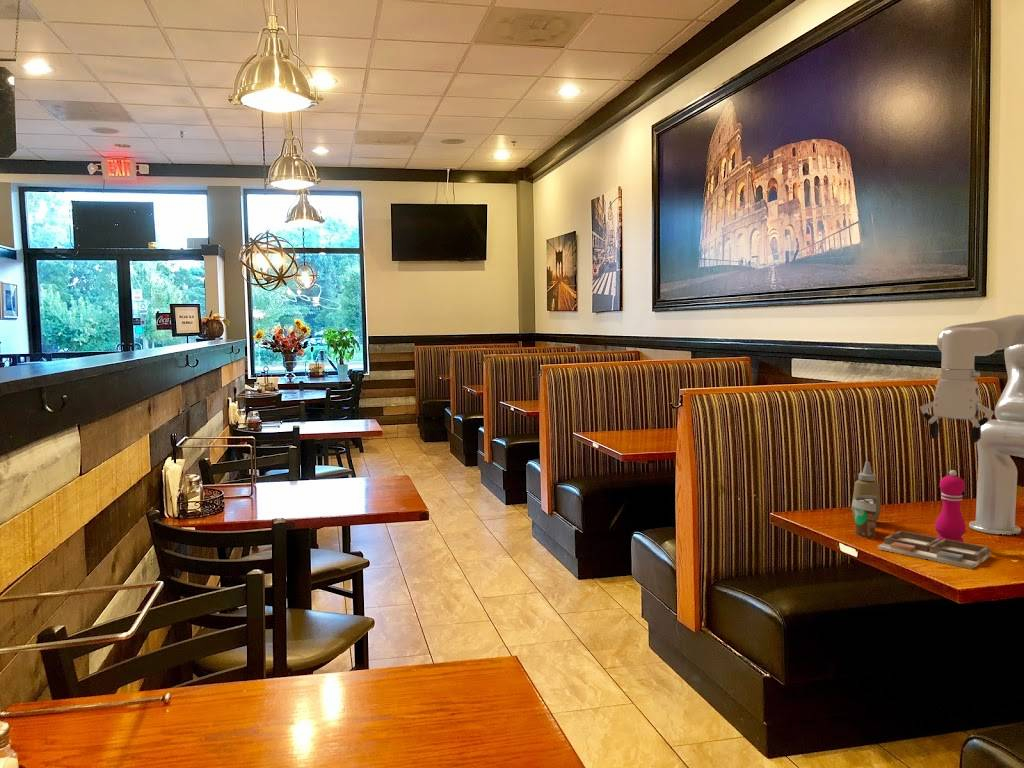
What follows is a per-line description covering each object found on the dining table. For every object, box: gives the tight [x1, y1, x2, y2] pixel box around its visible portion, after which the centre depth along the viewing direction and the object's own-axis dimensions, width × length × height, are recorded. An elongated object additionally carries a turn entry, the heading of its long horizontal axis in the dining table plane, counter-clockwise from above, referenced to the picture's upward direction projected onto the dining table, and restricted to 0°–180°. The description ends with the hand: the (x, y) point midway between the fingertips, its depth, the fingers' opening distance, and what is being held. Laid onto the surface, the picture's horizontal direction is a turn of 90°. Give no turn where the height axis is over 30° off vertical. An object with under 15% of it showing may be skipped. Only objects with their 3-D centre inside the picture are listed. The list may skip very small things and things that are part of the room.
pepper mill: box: [934, 469, 967, 542], centre depth 206 cm, size 7×7×20 cm
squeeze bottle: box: [850, 461, 882, 523], centre depth 229 cm, size 8×8×18 cm
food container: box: [851, 495, 877, 539], centre depth 216 cm, size 12×6×10 cm, turn 154°
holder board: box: [877, 530, 992, 570], centre depth 198 cm, size 15×22×2 cm
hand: (954, 440), depth 205 cm, fingers open, 9 cm apart
